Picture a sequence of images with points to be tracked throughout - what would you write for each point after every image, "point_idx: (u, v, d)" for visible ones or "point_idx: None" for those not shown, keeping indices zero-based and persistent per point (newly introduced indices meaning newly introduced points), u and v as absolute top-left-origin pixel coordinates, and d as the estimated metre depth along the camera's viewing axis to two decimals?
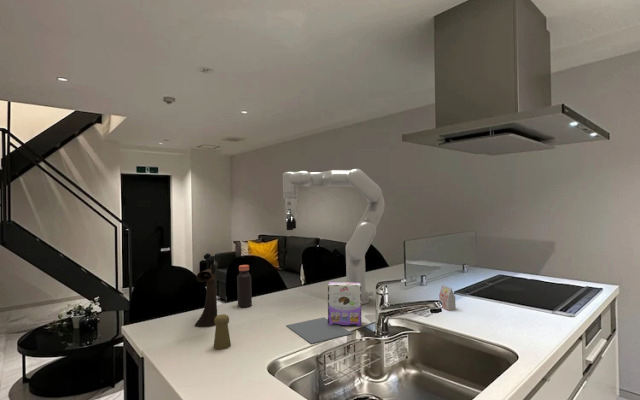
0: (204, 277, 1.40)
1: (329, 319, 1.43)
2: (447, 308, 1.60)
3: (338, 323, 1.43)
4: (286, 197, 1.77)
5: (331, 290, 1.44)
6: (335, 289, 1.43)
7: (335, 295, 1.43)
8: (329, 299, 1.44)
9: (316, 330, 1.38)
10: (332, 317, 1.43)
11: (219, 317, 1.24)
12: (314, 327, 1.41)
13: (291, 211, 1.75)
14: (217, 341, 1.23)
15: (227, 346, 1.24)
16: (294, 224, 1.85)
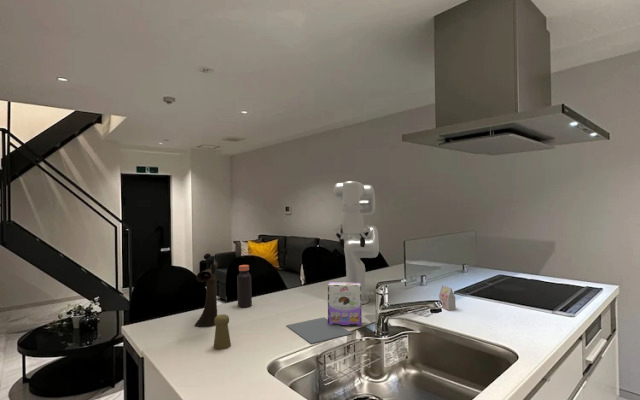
0: (204, 277, 1.40)
1: (329, 319, 1.43)
2: (447, 308, 1.60)
3: (338, 323, 1.43)
4: (359, 210, 1.56)
5: (331, 290, 1.43)
6: (335, 289, 1.43)
7: (335, 295, 1.43)
8: (329, 299, 1.44)
9: (316, 330, 1.38)
10: (332, 317, 1.43)
11: (219, 317, 1.24)
12: (314, 327, 1.41)
13: None
14: (217, 341, 1.23)
15: (227, 346, 1.24)
16: None
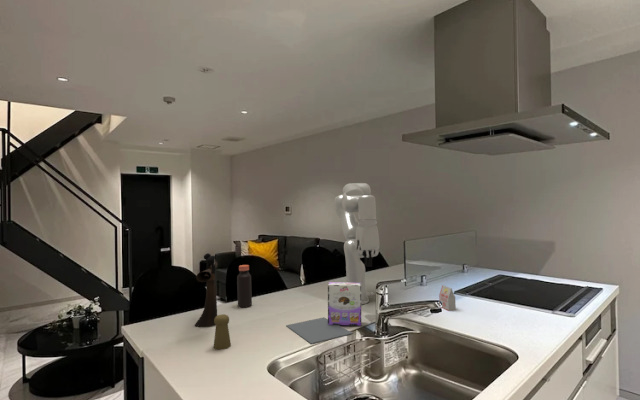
0: (204, 277, 1.40)
1: (329, 319, 1.43)
2: (447, 308, 1.60)
3: (338, 323, 1.43)
4: None
5: (331, 290, 1.44)
6: (335, 289, 1.43)
7: (335, 295, 1.43)
8: (329, 299, 1.44)
9: (316, 330, 1.38)
10: (332, 317, 1.43)
11: (219, 317, 1.24)
12: (314, 327, 1.41)
13: None
14: (217, 341, 1.23)
15: (227, 346, 1.24)
16: None
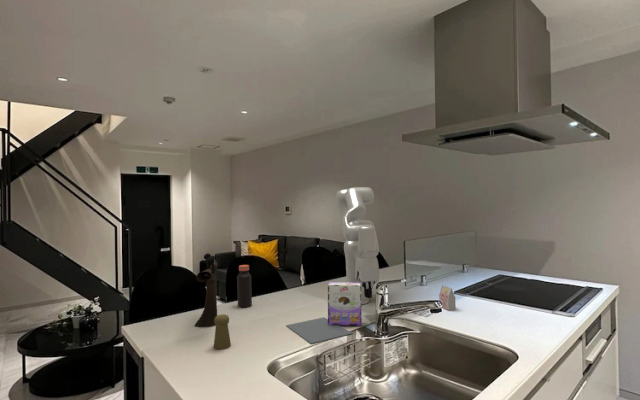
0: (204, 277, 1.40)
1: (329, 319, 1.43)
2: (447, 308, 1.60)
3: (338, 323, 1.43)
4: (375, 256, 1.52)
5: (331, 290, 1.43)
6: (335, 289, 1.43)
7: (335, 295, 1.43)
8: (329, 299, 1.44)
9: (316, 330, 1.38)
10: (332, 317, 1.43)
11: (219, 317, 1.24)
12: (314, 327, 1.41)
13: None
14: (217, 341, 1.23)
15: (227, 346, 1.24)
16: None
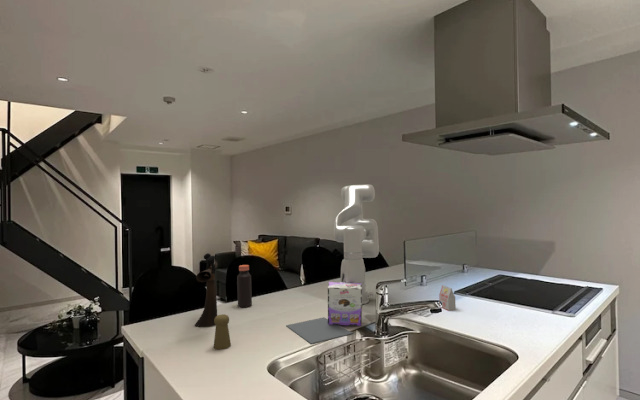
0: (204, 277, 1.40)
1: (329, 319, 1.43)
2: (447, 308, 1.60)
3: (338, 323, 1.43)
4: None
5: (331, 293, 1.40)
6: (335, 292, 1.40)
7: (335, 297, 1.41)
8: (329, 301, 1.41)
9: (316, 330, 1.38)
10: (332, 317, 1.43)
11: (219, 317, 1.24)
12: (314, 327, 1.41)
13: None
14: (217, 341, 1.23)
15: (227, 346, 1.24)
16: None
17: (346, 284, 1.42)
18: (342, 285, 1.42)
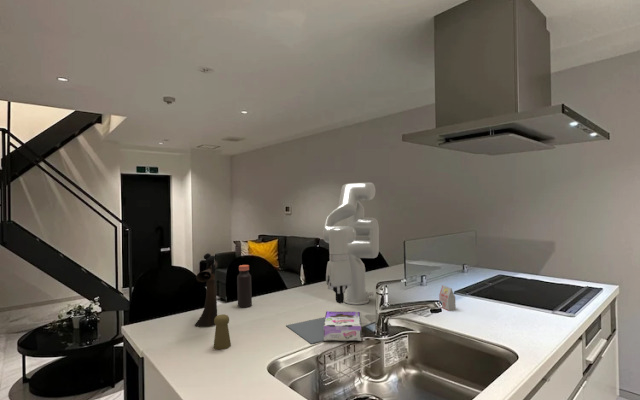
0: (204, 277, 1.40)
1: None
2: (447, 308, 1.60)
3: None
4: (347, 259, 1.45)
5: None
6: None
7: None
8: None
9: (316, 330, 1.38)
10: None
11: (219, 317, 1.24)
12: (314, 327, 1.41)
13: None
14: (217, 341, 1.23)
15: (227, 346, 1.24)
16: None
17: (344, 332, 1.26)
18: (339, 335, 1.26)
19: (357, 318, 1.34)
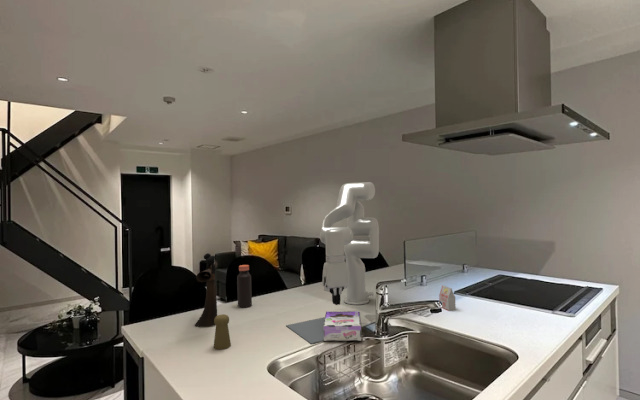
0: (204, 277, 1.40)
1: None
2: (447, 308, 1.60)
3: None
4: (344, 260, 1.44)
5: None
6: None
7: None
8: None
9: (316, 330, 1.38)
10: None
11: (219, 317, 1.24)
12: (314, 327, 1.41)
13: None
14: (217, 341, 1.23)
15: (227, 346, 1.24)
16: None
17: (344, 332, 1.26)
18: (339, 335, 1.26)
19: (357, 318, 1.34)
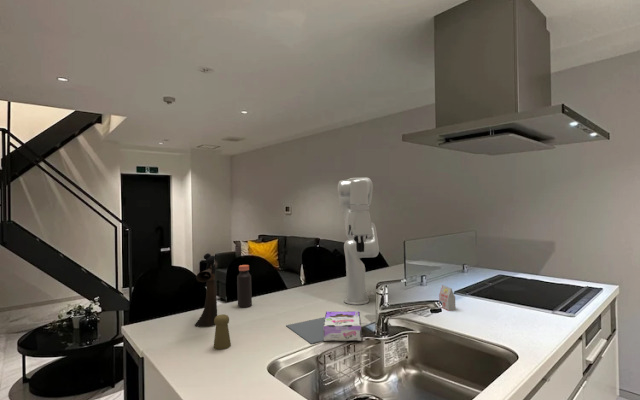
0: (204, 277, 1.40)
1: None
2: (447, 308, 1.60)
3: None
4: None
5: None
6: None
7: None
8: None
9: (316, 330, 1.38)
10: None
11: (219, 317, 1.24)
12: (314, 327, 1.41)
13: None
14: (217, 341, 1.23)
15: (227, 346, 1.24)
16: None
17: (344, 332, 1.26)
18: (339, 335, 1.26)
19: (357, 318, 1.34)
